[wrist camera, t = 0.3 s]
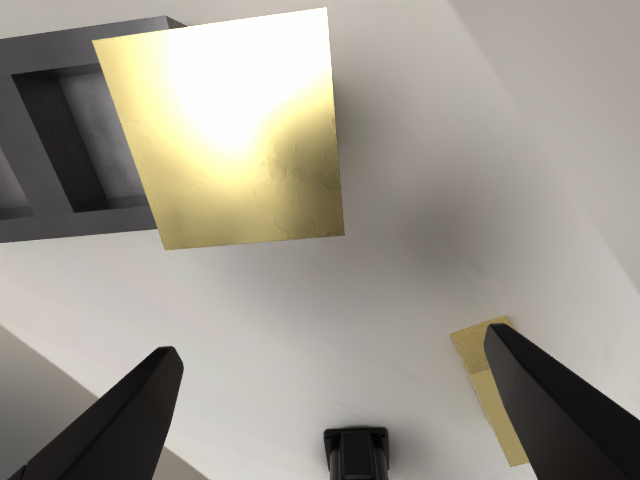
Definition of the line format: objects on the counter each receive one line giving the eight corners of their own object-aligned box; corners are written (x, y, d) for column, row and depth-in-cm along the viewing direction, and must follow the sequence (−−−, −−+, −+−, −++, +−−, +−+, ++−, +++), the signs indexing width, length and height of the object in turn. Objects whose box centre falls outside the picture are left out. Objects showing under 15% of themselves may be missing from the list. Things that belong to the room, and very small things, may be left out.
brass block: (337, 158, 20) (344, 235, 9) (255, 167, 21) (165, 250, 10) (329, 63, 18) (326, 7, 7) (238, 75, 19) (91, 40, 7)
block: (533, 404, 30) (566, 453, 26) (486, 417, 31) (510, 467, 27) (502, 313, 25) (535, 354, 21) (449, 332, 26) (470, 374, 22)
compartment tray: (235, 205, 22) (219, 223, 19) (-21, 229, 23) (-77, 249, 20) (195, 30, 18) (165, 15, 14) (-116, 73, 19) (-205, 68, 16)
